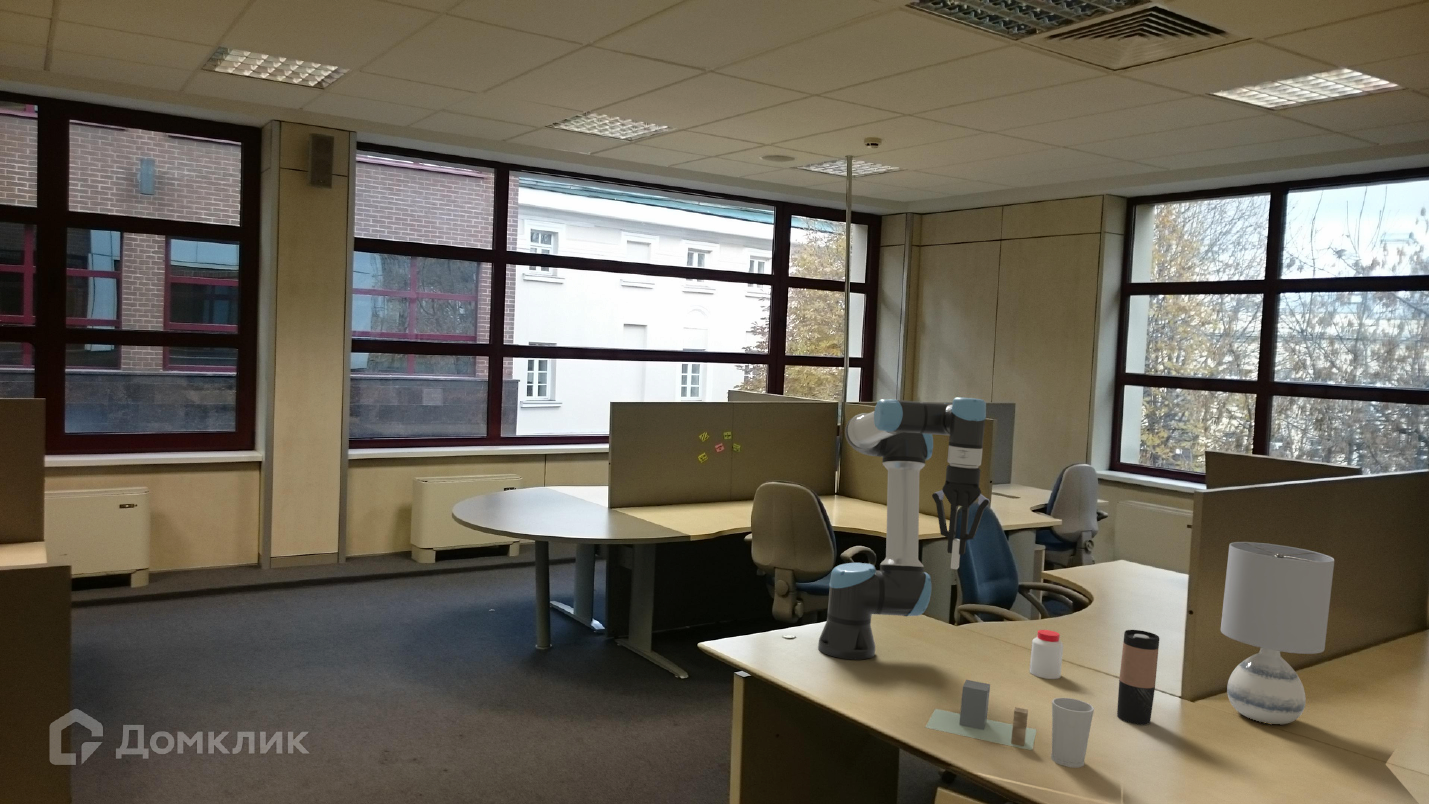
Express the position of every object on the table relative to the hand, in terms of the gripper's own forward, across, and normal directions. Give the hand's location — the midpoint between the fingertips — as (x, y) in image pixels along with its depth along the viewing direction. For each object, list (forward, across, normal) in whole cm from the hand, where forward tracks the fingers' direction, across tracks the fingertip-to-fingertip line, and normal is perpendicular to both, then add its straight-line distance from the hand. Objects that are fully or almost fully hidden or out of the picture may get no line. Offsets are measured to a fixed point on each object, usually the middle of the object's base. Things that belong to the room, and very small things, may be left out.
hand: (954, 567), depth 224 cm
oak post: (+32, +18, -14) cm, 39 cm away
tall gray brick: (+32, +8, -8) cm, 34 cm away
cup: (+33, +28, -18) cm, 47 cm away
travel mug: (+33, +41, +18) cm, 55 cm away
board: (+32, +10, -10) cm, 35 cm away
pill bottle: (+33, +20, +41) cm, 56 cm away
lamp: (+33, +70, +38) cm, 86 cm away
